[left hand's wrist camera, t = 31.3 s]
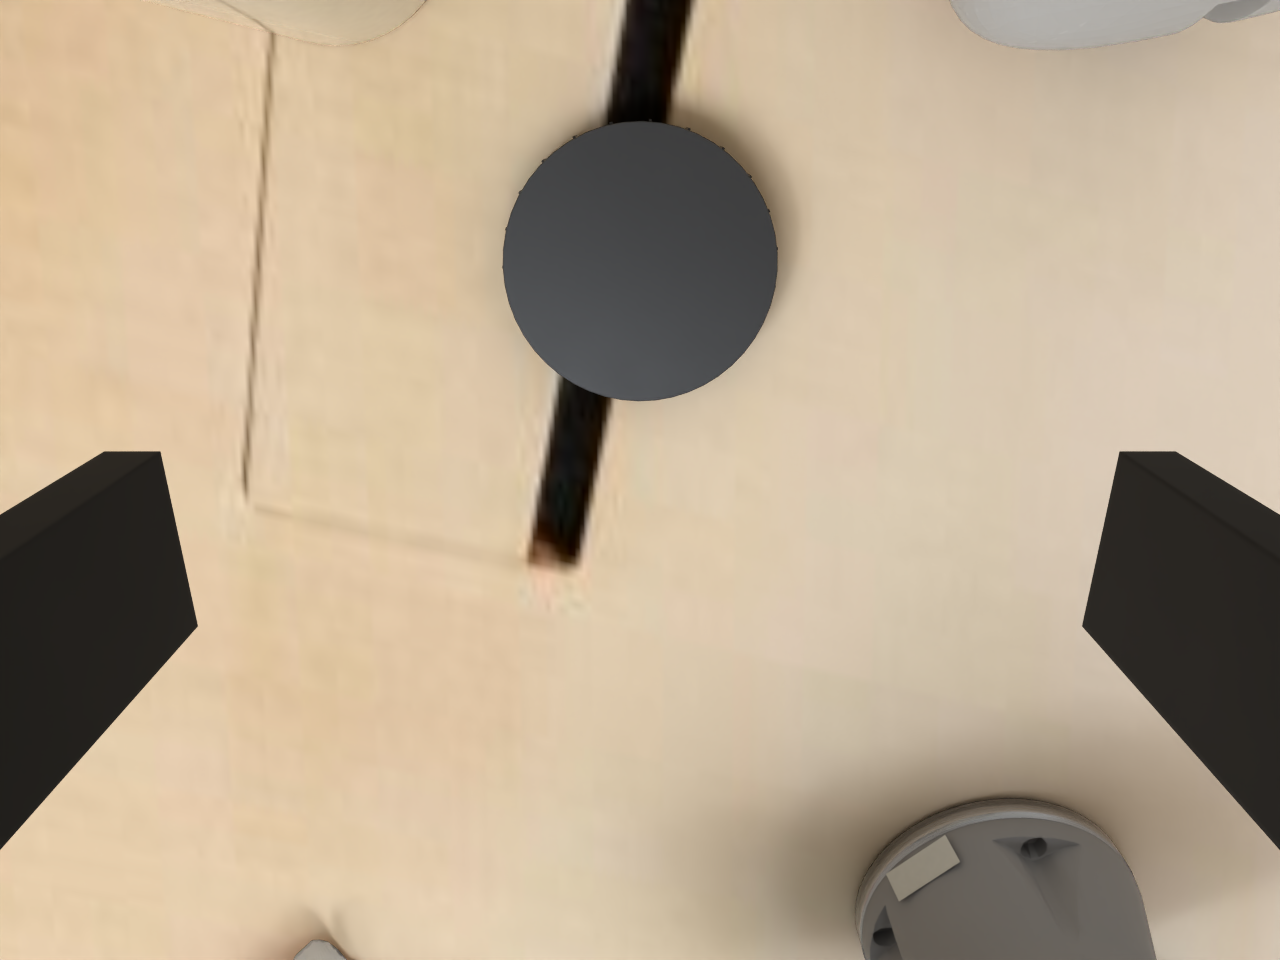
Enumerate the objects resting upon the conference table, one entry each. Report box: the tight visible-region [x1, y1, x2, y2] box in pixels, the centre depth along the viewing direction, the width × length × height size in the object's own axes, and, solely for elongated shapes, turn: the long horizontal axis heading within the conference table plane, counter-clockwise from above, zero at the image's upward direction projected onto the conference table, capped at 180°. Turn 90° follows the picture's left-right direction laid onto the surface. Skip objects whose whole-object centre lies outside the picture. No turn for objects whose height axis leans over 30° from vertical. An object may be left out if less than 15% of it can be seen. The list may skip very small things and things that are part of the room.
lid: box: [502, 119, 778, 401], centre depth 36 cm, size 11×11×2 cm
